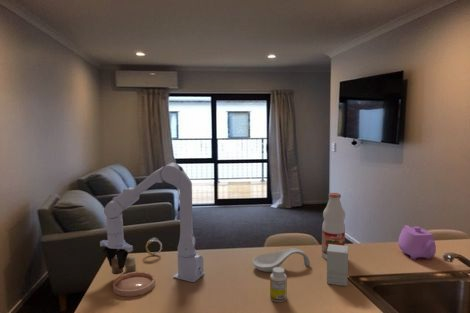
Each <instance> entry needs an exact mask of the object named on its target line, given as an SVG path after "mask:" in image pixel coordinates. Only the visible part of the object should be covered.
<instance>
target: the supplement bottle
mask: <svg viewBox="0 0 470 313" xmlns="http://www.w3.org/2000/svg"><path fill="white" fill-rule="evenodd" d="M269 276H270V277H269V278H270V279H269V280H270V281H269V283H270V284H269V292H270V293H269V295H270V296H269V297H270V299H271V300H272V301H274V302H277V303H281V302H284V301H286V300H287V298H288V296H287V295H288V293H287V292H288V289H287V288H288V285H287V284H288V283H287V282H288V276H287V274H286V273H285V268H284V267H280V266H279V267H275V268H273V272H271V274H270V275H269Z"/></svg>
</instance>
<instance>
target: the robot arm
mask: <svg viewBox="0 0 470 313" xmlns="http://www.w3.org/2000/svg"><path fill="white" fill-rule="evenodd" d="M164 182H165V183H167V184H170V185H173V186H174V187H175V188H177V189H178V190H179V226H180V228H179V242H178V245H177V249H176V250H177V273H175V274H173V278H175V279H178V280H183V281H187V282H190V283H195V282H196V281H198V280H199V279H200V278H201V277H202V276H204V275H205V272H204V258H203V257H204V256H202V255H200V254H198V253H197V250H196V248H195V247H196V246H195V244H196V237H195V235H194V228H193V183H192V180H191V179H190V177H189V176H188V174H187V172H185V170H184V168H183V167H182V166H181V165H179V164H178V163H176V162H168V163H166V164H165V166H161V167H160V168H159V169H156V170H155V171H154V172H152V173H150V175H148V176H147V177H146V178H145V179H143V180H142V181H140V183H139V184H137V185H136V186H135V187H130V186H129V187H128V188H126V187H125V188H124V189H123V190H122V192H121V193H120V194H118V195H117V196H114V197H113V198H112V199H111V201H109V202H108V203H107V204H106V205H105V206H104V208H103V214H104V216H106V233H107V234H106V236H107V239H103V240H100V241H99V247H104V248H103V249H102V253H103V254H104V255H105V257H106V259H107V261H108V264H109V266H110V267H111V268H112V263H111V258H113V257H115V256H117V259H118V265H119V269H122V268H123V269H125V261H126V258H127V256H129V253H131V252H133V251H134V246H133V245H131V244H129V243H128V242H126V239H125V238H124V236H125V235H124V220H123V211H126V210H127V209H128V208H130V207H131V206H132V205H133V204H135V203H136V202H137V201H139V200H140V195H141V194H142V193H143V192H145V191H146V190H148V189H149V188H150V187H152V186H153V185H155V184H156V183H157V184H159V183H160V184H162V183H164ZM117 250H118V251H117Z"/></svg>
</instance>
